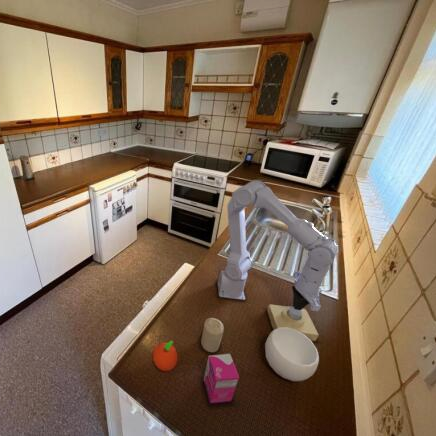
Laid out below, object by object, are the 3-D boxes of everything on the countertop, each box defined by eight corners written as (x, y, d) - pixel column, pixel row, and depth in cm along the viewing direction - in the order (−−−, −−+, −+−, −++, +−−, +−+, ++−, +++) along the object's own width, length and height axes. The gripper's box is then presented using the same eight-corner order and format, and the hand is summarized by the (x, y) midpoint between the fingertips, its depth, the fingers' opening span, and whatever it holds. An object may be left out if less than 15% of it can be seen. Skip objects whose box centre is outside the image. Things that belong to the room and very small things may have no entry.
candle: (219, 338, 75) (225, 317, 70) (218, 355, 71) (224, 333, 66) (202, 333, 77) (206, 312, 72) (199, 349, 72) (204, 327, 67)
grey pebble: (289, 319, 77) (291, 314, 76) (286, 310, 80) (287, 305, 79) (301, 320, 76) (303, 316, 75) (297, 311, 79) (299, 307, 78)
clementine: (162, 344, 73) (163, 329, 70) (182, 357, 70) (184, 342, 66) (147, 366, 67) (148, 351, 64) (168, 381, 64) (170, 366, 61)
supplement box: (202, 379, 65) (208, 354, 59) (223, 377, 65) (231, 352, 60) (209, 404, 60) (216, 379, 54) (231, 402, 60) (241, 377, 54)
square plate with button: (275, 334, 77) (279, 324, 74) (266, 309, 85) (270, 300, 83) (315, 341, 75) (321, 330, 73) (302, 315, 84) (307, 305, 81)
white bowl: (308, 400, 61) (321, 379, 56) (256, 372, 66) (265, 352, 62) (309, 359, 70) (321, 338, 65) (264, 338, 76) (272, 318, 71)
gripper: (339, 296, 63) (320, 329, 70) (315, 262, 76) (301, 293, 82) (311, 293, 64) (295, 326, 71) (291, 259, 77) (279, 290, 83)
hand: (296, 308), depth 76 cm, fingers closed
